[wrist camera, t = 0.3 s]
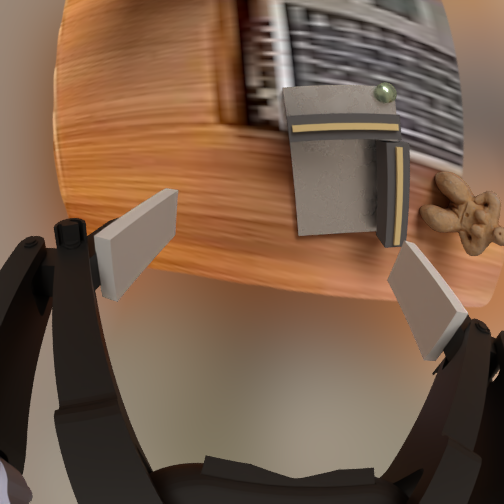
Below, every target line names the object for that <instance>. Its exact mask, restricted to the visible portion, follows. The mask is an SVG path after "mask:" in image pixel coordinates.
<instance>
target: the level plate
mask: <svg viewBox="0 0 504 504" xmlns="http://www.w3.org/2000/svg"><path fill="white" fill-rule="evenodd" d="M283 94H284V101H285V109H286V116H294V115H308V114H332V113H371V114H394V115H396V107H395V99H396V96H397V93H396V90H395V88H394V87H393V86H392V85H391V84H389V83H381V84H379V85H377V86H360V85H322V86H300V87H287V88H283ZM376 140H386V139H343V140H317V141H301V142H290V149H291V158H292V167H293V177H294V187H295V198H296V210H297V222H298V236H304V235H320V234H336V233H352V232H369V231H376V227H377V188H376V187H377V158H376ZM386 141H398V140H386Z"/></svg>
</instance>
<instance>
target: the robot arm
mask: <svg viewBox="0 0 504 504" xmlns="http://www.w3.org/2000/svg"><path fill="white" fill-rule="evenodd" d="M177 198H178V190H174V189H168V188H165V189H164V190H162V191H160V192H159V193H157V194H155V195H154V196H152V197H151V198H149V199H147V200H146V201H144V202H143V203H141V204H140V205H138V206H137V207H135V208H133V209H132V210H130V211H129V212H127V213H126V214H124V215H123V216H121V217H120V218H116V219H113V220H110V221H108V222H107V223H105V224H104V225H103V226H101V227H100V228H98V230H95V231H94V232H93V233H91V234H90V235H88V236H87V232H86V223H85V221H84V220H82V219H79V218H70V219H66V220H62V221H60V222H58V223H57V224H56V225H55V226H54V232H55V239H56V245H57V248H56V249H55V248H46V246H45V241H44V238H42V237H40V236H34V237H33V236H30V237H27V238H26V239H24V240H23V241H21V242H20V243H19V244H18V245H17V247H16V248H15V250H14V251H13V252H12V254H11V255H10V257H9V258H8V260H7V261H6V262H5V264H4V265H3V267H2V269H1V270H0V504H29V502H30V501H31V500H32V492H31V490H30V488H29V487H28V486H27V483H26V481H25V479H24V478H23V476H22V474H23V470H24V463H25V456H26V445H27V428H28V417H29V408H30V400H31V394H32V387H33V381H34V375H35V371H36V366H37V361H38V357H39V352H40V348H41V344H42V340H43V337H44V333H45V330H46V326H47V322H48V319H49V316H50V313H51V310H52V331H53V332H52V333H53V354H54V366H55V376H56V385H57V392H58V399H59V409H58V410H55V413H54V422H55V428H56V433H57V437H58V441H59V446H60V449H61V454H62V457H63V461H64V464H65V468H66V471H67V474H68V477H69V480H70V483H71V486H72V489H73V492H74V494H75V497H76V499H77V502H78V504H504V331H501V332H500V333H499V335H498V336H497V338H494V337H491V333H490V330H489V329H488V327H487V326H486V324H485V323H483V322H482V321H480V320H478V319H472V320H471V318H470V317H469V315H468V312H467V311H466V309H465V308H464V306H463V305H462V304H461V302H460V301H459V299H458V298H457V297H456V295H455V294H454V292H453V291H452V290H451V288H450V287H449V286H448V284H447V283H446V282H445V280H444V279H443V278H442V276H441V275H440V274H439V273H438V271H437V270H436V269H435V268H434V266H433V265H432V264H431V263H430V261H429V260H428V259H427V258H426V257H425V255H424V254H423V253H422V252H421V251H420V249H419V248H418V247H417V246H416V245H415V244H414V243H411V242H408V241H404V242H403V245H402V247H401V250H400V252H399V254H398V257H397V259H396V262H395V264H394V266H393V269H392V271H391V273H390V275H389V277H388V280H387V281H388V283H389V284H390V286H391V288H392V290H393V292H394V294H395V296H396V298H397V301H398V303H399V305H400V307H401V309H402V311H403V313H404V315H405V317H406V320H407V322H408V324H409V326H410V328H411V331H412V333H413V335H414V338H415V340H416V342H417V345H418V347H419V350H420V352H421V354H422V357H423V359H424V360H430V361H436V359H437V358H438V357H439V356H440V354H441V353H442V352H443V351H444V353H445V356H446V357H445V358H444V360H443V361H442V362H441V363H440V365H439V366H438V367H437V368H436V370H435V371H434V372H433V375H434V374H435V373H437V375H436V378H435V380H434V382H433V385H432V387H431V390H430V392H429V394H428V397H427V399H426V401H425V403H424V405H423V408H422V410H421V412H420V414H419V416H418V418H417V420H416V422H415V424H414V426H413V428H412V430H411V432H410V433H409V435H408V437H407V439H406V440H405V442H404V444H403V446H402V448H401V449H400V451H399V453H398V454H397V456H396V457H395V459H394V461H393V462H392V464H391V465H390V467H389V468H388V470H387V471H386V472H385V473H384V474H383V475H382V476H381V477H380V478H377V477H374V468H363V469H346V470H336V471H332V472H327V473H323V474H318V475H314V476H309V477H305V478H290V477H286V476H284V475H280V474H277V473H274V472H271V471H268V470H265V469H263V468H260V467H257V466H254V465H252V464H247V463H241V462H235V461H230V460H225V459H220V458H215V457H211V456H206V457H205V461H204V463H187V464H178V465H173V466H169V467H165V468H162V469H159V470H156V471H154V472H153V471H152V469H151V467H150V464H149V463H148V461H147V458H146V457H145V454H144V452H143V450H142V448H141V446H140V444H139V442H138V440H137V437H136V435H135V432H134V430H133V427H132V425H131V423H130V420H129V417H128V415H127V412H126V409H125V406H124V403H123V401H122V398H121V395H120V392H119V389H118V386H117V383H116V379H115V376H114V373H113V369H112V365H111V362H110V358H109V354H108V350H107V346H106V342H105V338H104V334H103V329H102V325H101V320H100V315H99V309H98V304H97V298H96V293H95V290H96V289H97V288H98V287H99V286H101V291H102V296H103V297H105V298H108V299H111V300H114V301H117V302H118V300H119V299H120V298H121V297H122V296H123V294H124V293H125V292H126V291H127V289H128V288H129V287H130V286H131V284H132V283H133V282H134V281H135V280H136V279H137V277H138V276H139V275H140V274H141V273H142V272H143V270H144V269H145V268H146V267H147V266H148V265H149V264H150V263H151V261H152V260H153V259H154V258H155V257H156V256H157V255H158V253H159V252H160V251H161V250H162V249H163V248H164V247H165V246H166V245H167V243H168V242H169V241H170V240H171V239H172V238H173V237H174V236H175V229H176V212H177ZM499 370H500V371H499ZM498 371H499V374H498V376H497V378H496V379H495V380H494V381H492V378H493V377H494V376H495V374H496V373H497V372H498Z"/></svg>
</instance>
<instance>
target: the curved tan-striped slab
mask: <svg viewBox="0 0 504 504" xmlns="http://www.w3.org/2000/svg"><path fill="white" fill-rule="evenodd" d="M376 158H377V187H376V188H377V227H376V235H377V237H378V238H379V240H380V241H381V243H382V244H383V245H384V247H385V248H388V247H402V245H403V242H404V241H406V236H407V225H408V211H409V187H410V154H409V143H404V142H400V141H386V140H376Z"/></svg>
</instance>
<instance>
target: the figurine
mask: <svg viewBox="0 0 504 504" xmlns="http://www.w3.org/2000/svg"><path fill="white" fill-rule="evenodd" d="M435 181H436V184H437V186H438V188H439V190H440V191H441V192H442V194H443V195H445V196H447V197H448V198H449V200H450V204H449V206H448V208H446V209H443V208H441V207H438V206H435V205H423V206H422V207H421V208H420V215H421V216H422V218H423V220H424V221H425V222H426V223H427V224H428V225H429V226H430V227H431V228H432V229H433V230H435V231H438V232H442V233H448V232H458V233H459V236H460V238H461V242H462V244H463V247H464V249H465V251H466V253H467V254H469V255H470V256H478V255H480V254H482V252H483V251H484V250H485V249H486V248H487V247H488V245H489V244H490V243H491V242H494V243H496V244H498V245H500V246H504V228H503V227H501V226H500V225H499V217H500V210H501V202H500V198H499V197H498V195H497V194H496V193H494V192H492V191H486V192H484V193H483V194H480V195H478V196H476V197H475V196H474V195H473V193H472V191H471V189H470V187H469V186H468V185H467V183H466V182H465V181H463V180H462V179H461V178H460V177H459V176H458V175H456V174H454V173H452V172H439V173H437V174H436V176H435Z"/></svg>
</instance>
